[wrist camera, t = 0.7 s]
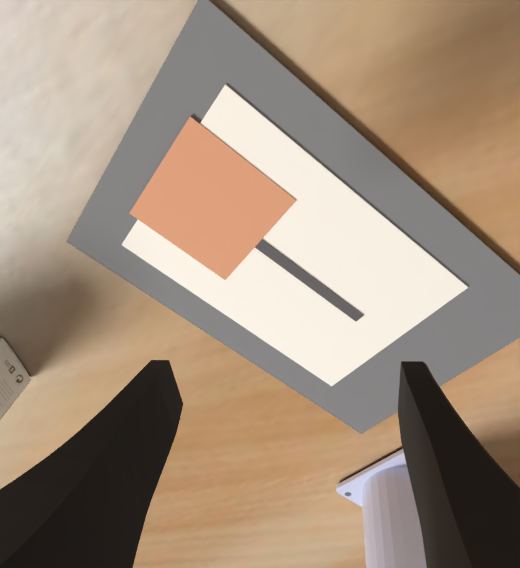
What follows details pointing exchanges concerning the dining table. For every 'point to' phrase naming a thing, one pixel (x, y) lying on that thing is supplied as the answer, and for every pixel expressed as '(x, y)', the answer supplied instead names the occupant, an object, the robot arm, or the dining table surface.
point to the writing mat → (291, 232)
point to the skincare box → (10, 377)
